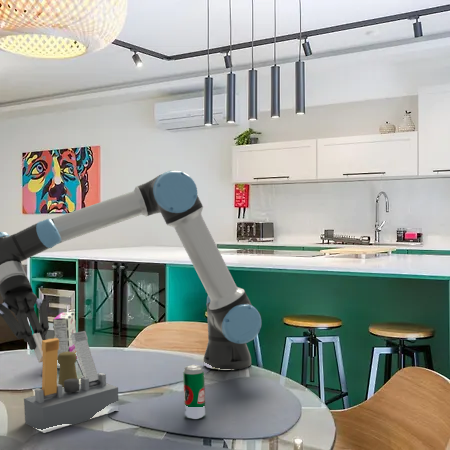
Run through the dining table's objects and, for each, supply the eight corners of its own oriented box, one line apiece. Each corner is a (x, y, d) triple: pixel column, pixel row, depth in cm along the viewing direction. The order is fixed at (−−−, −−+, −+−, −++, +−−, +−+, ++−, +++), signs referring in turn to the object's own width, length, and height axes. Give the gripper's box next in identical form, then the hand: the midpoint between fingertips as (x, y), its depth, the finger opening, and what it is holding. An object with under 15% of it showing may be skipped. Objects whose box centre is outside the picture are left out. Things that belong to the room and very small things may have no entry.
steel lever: (86, 388, 148) (70, 335, 153) (99, 385, 150) (82, 333, 155) (88, 386, 147) (72, 333, 152) (101, 383, 149) (85, 330, 154)
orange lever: (40, 398, 140) (41, 340, 138) (54, 394, 142) (56, 337, 140) (43, 400, 139) (44, 342, 137) (57, 397, 141) (59, 339, 139)
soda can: (203, 420, 139) (201, 370, 139) (182, 420, 140) (180, 370, 140) (207, 413, 144) (206, 364, 144) (187, 412, 145) (186, 364, 145)
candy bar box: (62, 360, 201) (60, 312, 200) (77, 359, 201) (75, 311, 200) (54, 369, 189) (52, 318, 189) (70, 368, 190) (68, 317, 189)
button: (61, 390, 145) (61, 380, 145) (74, 387, 147) (74, 377, 147) (68, 393, 142) (68, 383, 142) (82, 390, 144) (81, 380, 144)
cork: (73, 386, 170) (72, 348, 170) (83, 390, 165) (81, 352, 165) (53, 391, 166) (52, 352, 166) (63, 395, 162) (61, 356, 161)
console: (25, 423, 142) (23, 386, 141) (98, 402, 155) (96, 369, 155) (43, 433, 134) (42, 395, 134) (118, 411, 148) (117, 376, 148)
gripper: (33, 289, 158) (64, 362, 147) (-17, 295, 150) (12, 373, 138) (41, 271, 154) (73, 344, 142) (-10, 276, 146) (20, 354, 134)
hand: (43, 358), depth 140 cm, fingers closed
